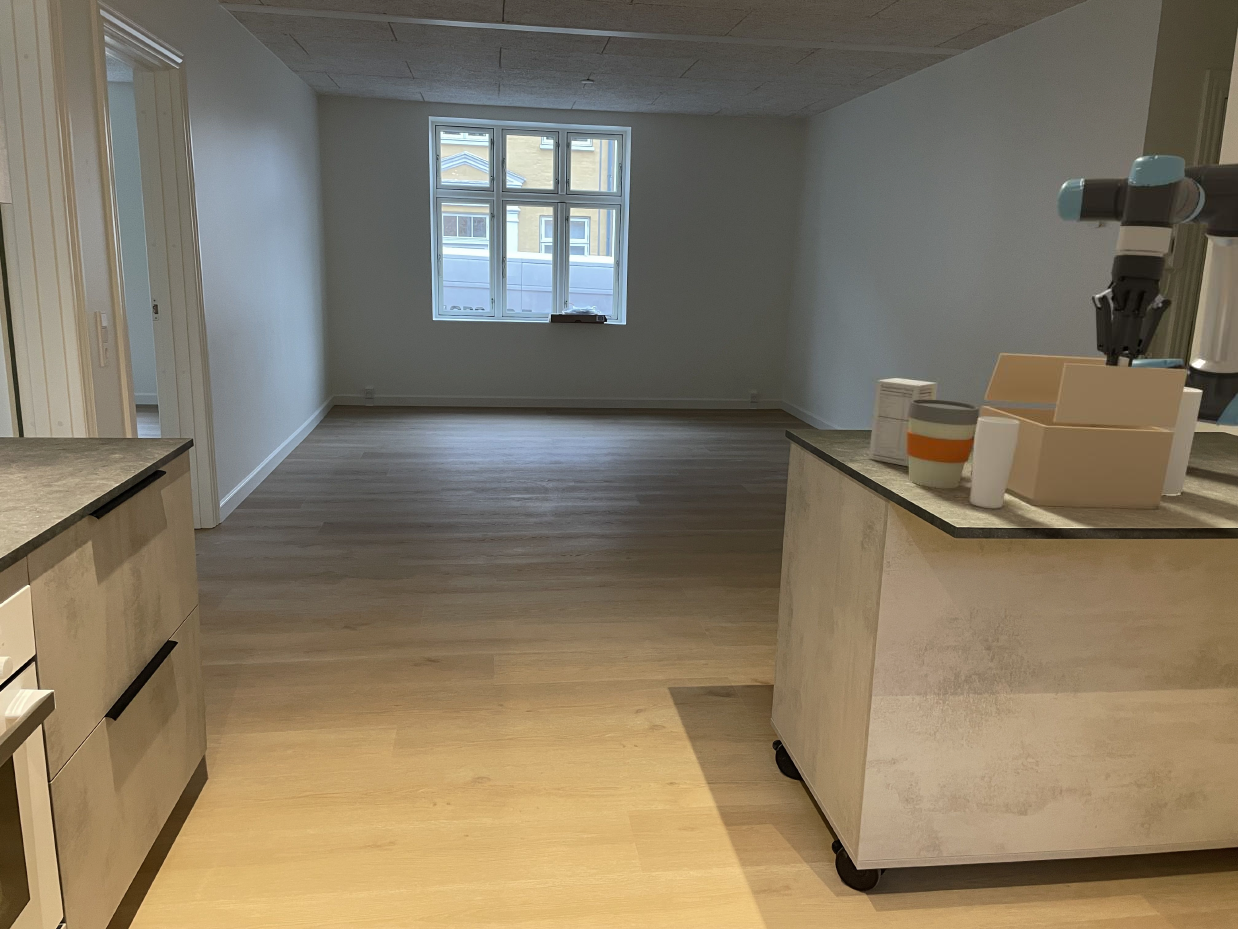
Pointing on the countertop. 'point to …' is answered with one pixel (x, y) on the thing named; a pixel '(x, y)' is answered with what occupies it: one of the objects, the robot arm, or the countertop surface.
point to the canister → (1182, 440)
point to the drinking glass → (992, 460)
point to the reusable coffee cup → (939, 441)
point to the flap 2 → (1119, 395)
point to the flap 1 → (1031, 377)
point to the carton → (1085, 461)
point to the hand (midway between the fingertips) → (1112, 395)
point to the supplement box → (895, 417)
